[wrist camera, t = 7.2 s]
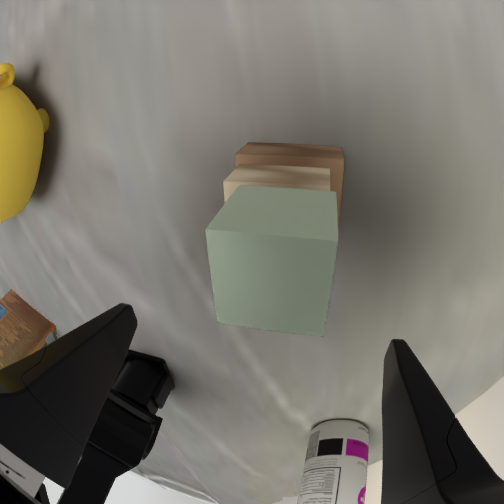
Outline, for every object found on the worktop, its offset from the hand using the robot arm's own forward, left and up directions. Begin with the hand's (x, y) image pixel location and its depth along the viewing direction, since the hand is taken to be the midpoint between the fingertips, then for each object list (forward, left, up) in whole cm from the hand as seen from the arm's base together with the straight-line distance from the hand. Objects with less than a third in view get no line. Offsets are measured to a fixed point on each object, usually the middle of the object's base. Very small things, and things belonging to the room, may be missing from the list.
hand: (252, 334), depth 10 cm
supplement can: (+8, -33, -13) cm, 36 cm away
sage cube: (0, 0, -7) cm, 7 cm away
